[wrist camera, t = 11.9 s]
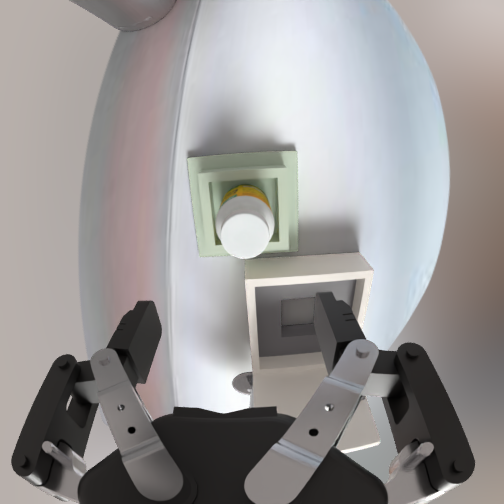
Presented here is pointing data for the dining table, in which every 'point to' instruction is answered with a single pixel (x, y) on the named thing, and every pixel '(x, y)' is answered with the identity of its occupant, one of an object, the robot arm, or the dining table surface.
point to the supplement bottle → (245, 221)
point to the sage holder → (245, 172)
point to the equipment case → (302, 332)
